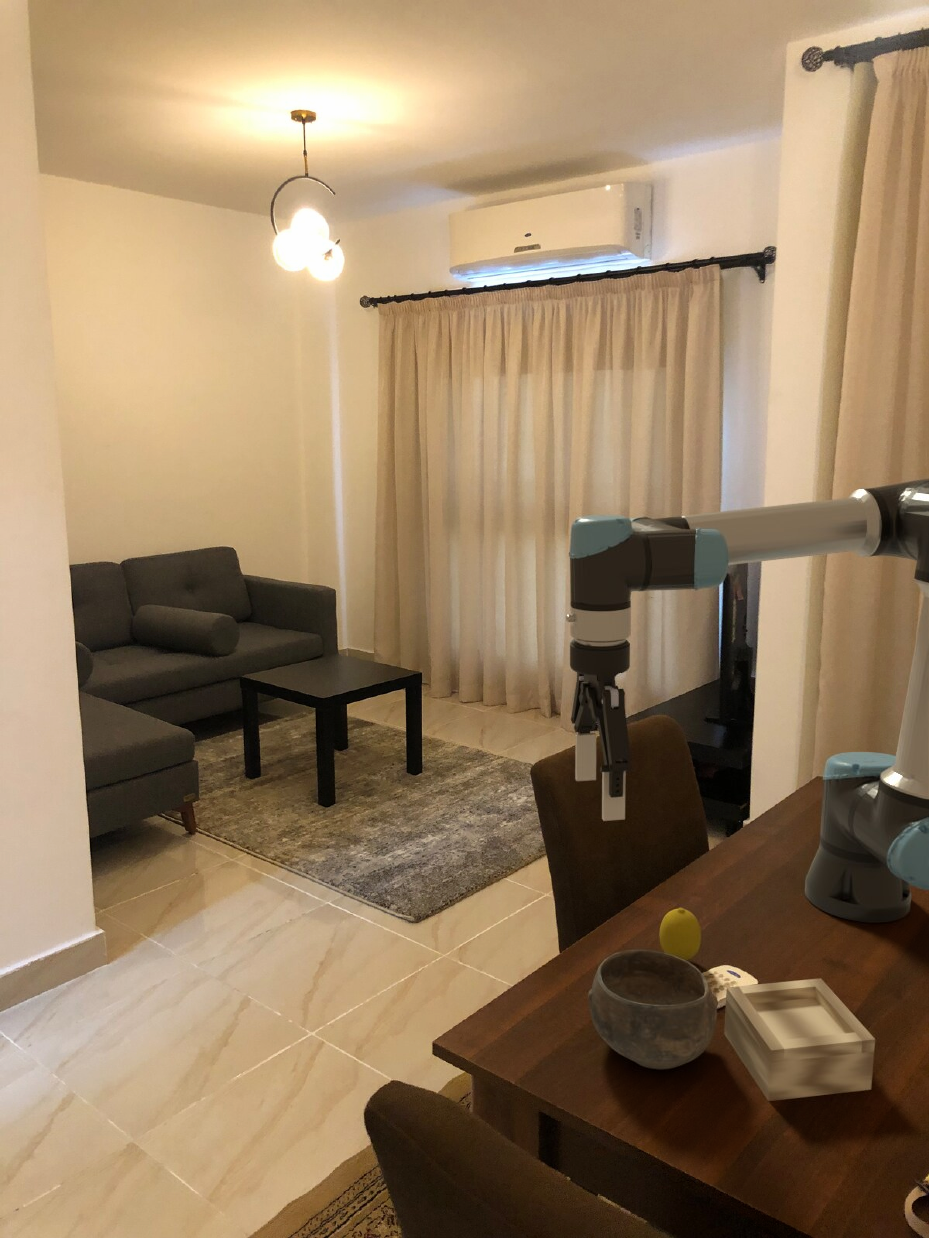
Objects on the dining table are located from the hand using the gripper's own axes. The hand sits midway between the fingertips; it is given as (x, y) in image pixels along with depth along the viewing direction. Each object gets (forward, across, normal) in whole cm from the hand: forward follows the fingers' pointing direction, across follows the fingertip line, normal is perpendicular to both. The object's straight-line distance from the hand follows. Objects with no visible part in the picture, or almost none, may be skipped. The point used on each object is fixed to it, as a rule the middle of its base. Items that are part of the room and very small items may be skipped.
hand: (598, 798), depth 127 cm
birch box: (+25, +22, +18) cm, 38 cm away
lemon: (+25, 0, +12) cm, 27 cm away
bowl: (+25, +18, +1) cm, 31 cm away
